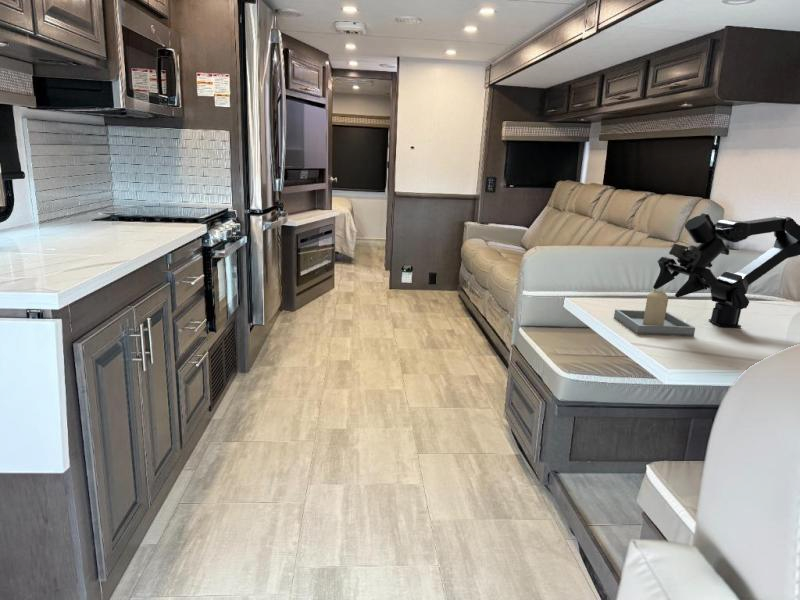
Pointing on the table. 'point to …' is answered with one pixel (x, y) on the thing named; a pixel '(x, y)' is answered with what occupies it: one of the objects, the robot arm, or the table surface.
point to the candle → (655, 308)
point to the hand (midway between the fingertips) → (664, 292)
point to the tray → (670, 327)
